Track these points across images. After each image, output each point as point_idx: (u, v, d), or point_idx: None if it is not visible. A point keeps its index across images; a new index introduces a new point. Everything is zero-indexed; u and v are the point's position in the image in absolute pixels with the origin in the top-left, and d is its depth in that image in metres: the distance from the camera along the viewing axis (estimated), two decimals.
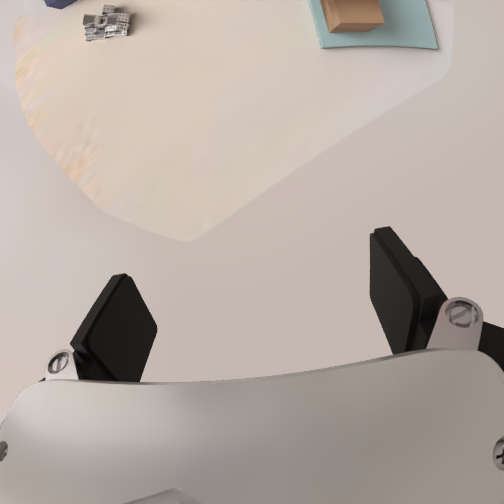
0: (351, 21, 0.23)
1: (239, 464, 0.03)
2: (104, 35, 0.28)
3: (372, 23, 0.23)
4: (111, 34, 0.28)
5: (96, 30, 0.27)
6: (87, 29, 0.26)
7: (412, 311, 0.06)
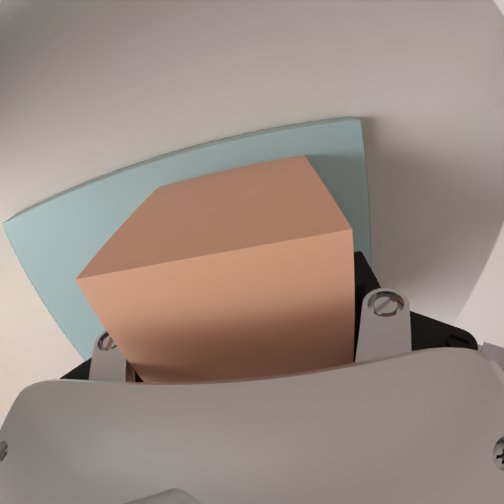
0: None
1: (239, 464, 0.03)
2: None
3: None
4: None
5: None
6: None
7: None
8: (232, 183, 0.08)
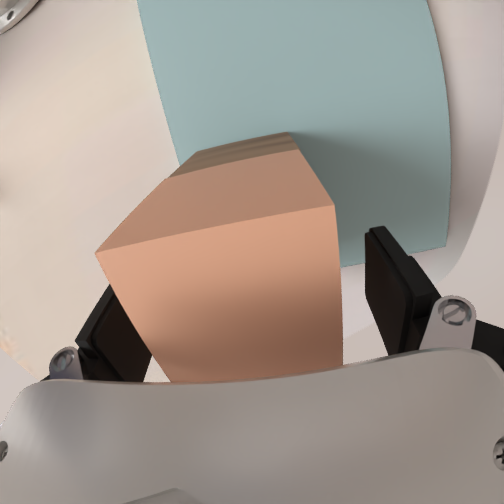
0: None
1: (239, 464, 0.03)
2: None
3: None
4: None
5: None
6: None
7: (405, 309, 0.06)
8: (234, 173, 0.09)
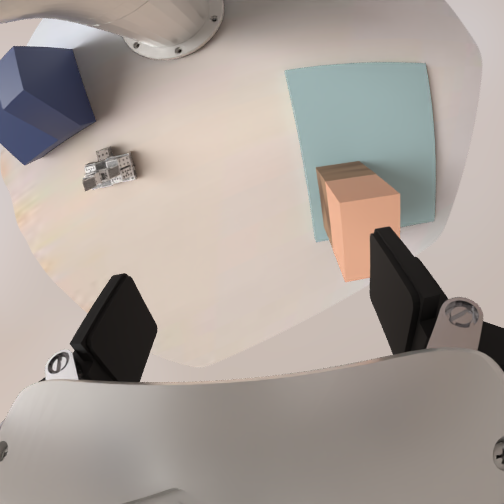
0: None
1: (239, 464, 0.03)
2: (111, 182, 0.35)
3: None
4: (118, 180, 0.35)
5: (100, 181, 0.33)
6: None
7: (412, 311, 0.06)
8: (360, 182, 0.26)
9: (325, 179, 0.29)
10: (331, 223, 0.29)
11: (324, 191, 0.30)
